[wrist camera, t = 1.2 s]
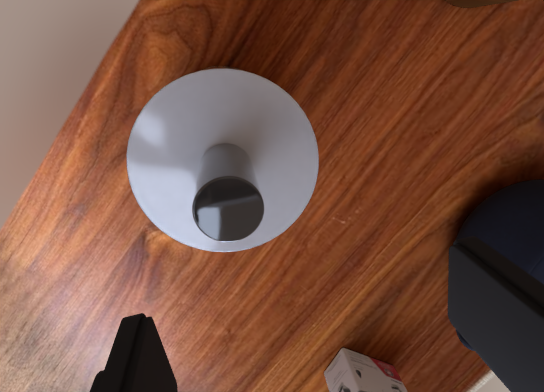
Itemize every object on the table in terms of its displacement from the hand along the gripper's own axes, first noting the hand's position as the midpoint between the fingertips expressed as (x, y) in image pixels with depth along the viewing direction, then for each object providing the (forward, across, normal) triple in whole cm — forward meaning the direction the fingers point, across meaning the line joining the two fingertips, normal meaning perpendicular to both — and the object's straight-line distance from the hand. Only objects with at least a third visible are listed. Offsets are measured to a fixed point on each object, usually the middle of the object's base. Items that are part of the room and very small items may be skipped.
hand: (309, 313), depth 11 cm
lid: (+10, +2, -2) cm, 11 cm away
